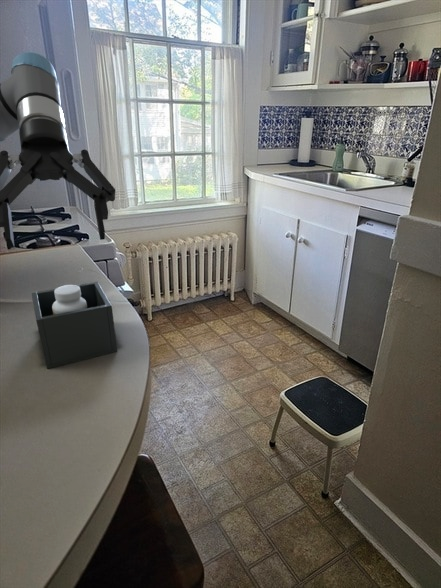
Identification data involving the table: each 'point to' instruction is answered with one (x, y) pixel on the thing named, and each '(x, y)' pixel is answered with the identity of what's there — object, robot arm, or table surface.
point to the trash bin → (75, 327)
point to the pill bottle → (68, 299)
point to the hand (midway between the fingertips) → (57, 239)
